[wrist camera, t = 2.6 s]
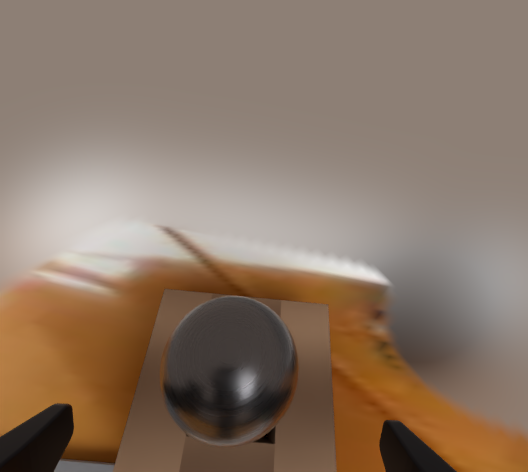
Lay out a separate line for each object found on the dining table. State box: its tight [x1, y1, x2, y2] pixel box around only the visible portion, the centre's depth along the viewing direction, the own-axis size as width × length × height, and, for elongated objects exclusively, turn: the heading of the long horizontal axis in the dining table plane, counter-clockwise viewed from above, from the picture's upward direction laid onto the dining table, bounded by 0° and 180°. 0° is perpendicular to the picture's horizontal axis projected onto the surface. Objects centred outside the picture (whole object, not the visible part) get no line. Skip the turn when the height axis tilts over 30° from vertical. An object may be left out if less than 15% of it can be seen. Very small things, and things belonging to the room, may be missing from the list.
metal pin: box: [160, 296, 299, 448], centre depth 11 cm, size 3×3×13 cm
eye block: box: [113, 289, 337, 472], centre depth 15 cm, size 9×9×4 cm
